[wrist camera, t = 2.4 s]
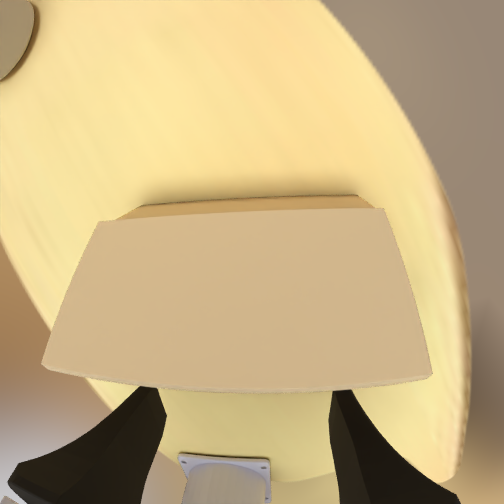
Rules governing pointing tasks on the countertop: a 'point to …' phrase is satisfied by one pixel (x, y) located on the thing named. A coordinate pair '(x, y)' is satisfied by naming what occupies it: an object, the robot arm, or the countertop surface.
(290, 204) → the carton
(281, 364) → the flap
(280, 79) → the countertop surface
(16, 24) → the beverage can
